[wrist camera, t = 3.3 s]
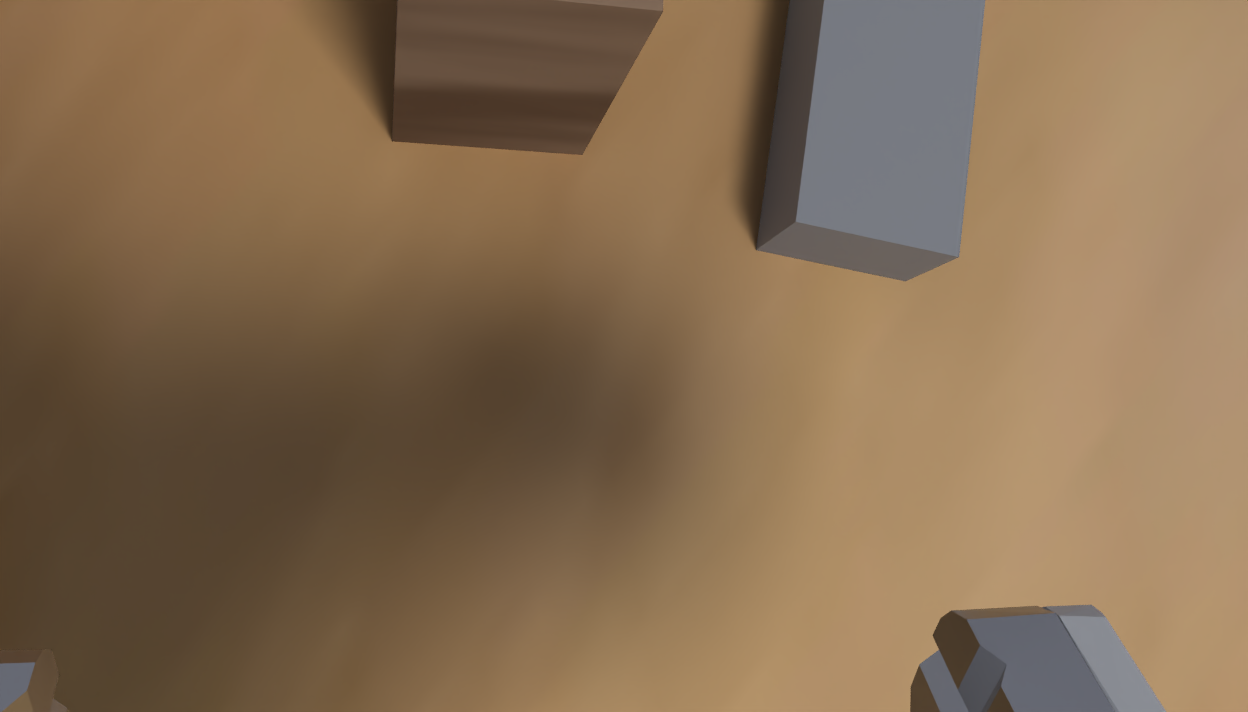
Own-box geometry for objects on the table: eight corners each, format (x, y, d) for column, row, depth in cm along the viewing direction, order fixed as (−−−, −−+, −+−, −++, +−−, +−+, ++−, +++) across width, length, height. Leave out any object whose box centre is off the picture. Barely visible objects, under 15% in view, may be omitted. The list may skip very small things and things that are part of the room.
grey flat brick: (900, 283, 29) (959, 256, 26) (752, 252, 28) (795, 221, 25) (932, -5, 31) (991, -61, 28) (792, -41, 30) (837, -102, 27)
